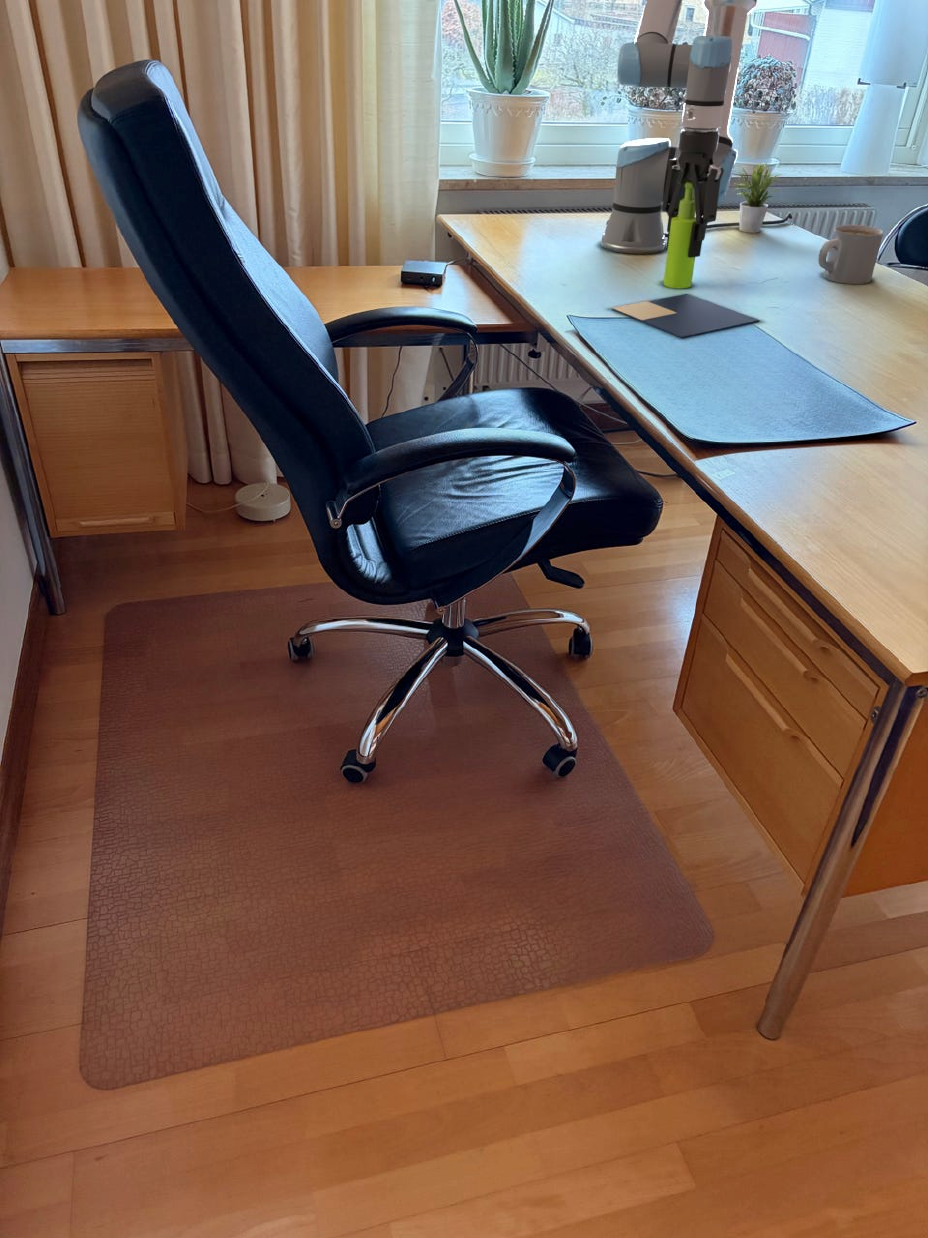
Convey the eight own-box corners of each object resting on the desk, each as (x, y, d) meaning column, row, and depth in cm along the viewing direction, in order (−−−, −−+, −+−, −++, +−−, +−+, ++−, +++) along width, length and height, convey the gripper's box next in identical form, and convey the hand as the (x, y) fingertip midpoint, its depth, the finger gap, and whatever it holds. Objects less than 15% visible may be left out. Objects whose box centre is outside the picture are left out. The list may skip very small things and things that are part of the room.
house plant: (717, 221, 246) (728, 154, 236) (770, 223, 244) (783, 156, 235) (722, 233, 234) (733, 163, 225) (777, 236, 233) (791, 165, 223)
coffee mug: (857, 271, 206) (869, 223, 201) (879, 283, 198) (892, 234, 193) (801, 272, 205) (811, 225, 199) (820, 284, 197) (832, 235, 191)
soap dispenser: (693, 281, 198) (707, 179, 187) (689, 289, 193) (703, 185, 181) (666, 278, 200) (678, 178, 188) (661, 286, 194) (673, 183, 183)
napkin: (686, 295, 189) (687, 293, 189) (759, 321, 176) (759, 319, 176) (611, 309, 181) (611, 307, 181) (681, 338, 167) (682, 336, 167)
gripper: (653, 124, 184) (639, 245, 197) (721, 136, 171) (701, 265, 184) (681, 122, 187) (665, 241, 200) (750, 133, 174) (728, 260, 187)
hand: (682, 252), depth 192 cm, fingers closed on soap dispenser, 6 cm apart
